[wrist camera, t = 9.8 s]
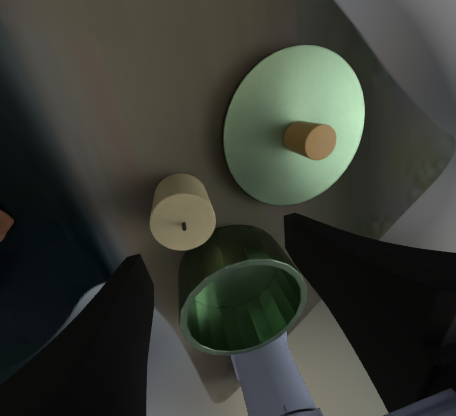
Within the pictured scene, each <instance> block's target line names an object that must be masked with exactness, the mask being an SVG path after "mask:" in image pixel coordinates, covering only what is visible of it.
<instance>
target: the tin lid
mask: <svg viewBox="0 0 456 416" xmlns="http://www.w3.org/2000/svg"><path fill="white" fill-rule="evenodd" d="M364 117H365V107H364V98H363V92H362V89H361V86H360V82H359V80H358V78H357V76H356V74H355V72H354V71H353V69H352V68H351V66H350V65H349V64H348V63H347V62H346V61H345V60H344V59H343V58H342V57H341V56H339V55H338V54H336V53H335V52H333V51H331V50H329V49H327V48H324V47H321V46H317V45H308V44H304V45H294V46H290V47H286V48H283V49H281V50H279V51H276V52H274V53H272V54H270V55H269V56H267V57H265V58H264V59H262V60H261V61H260V62H258V63H257V64H256V65H255V66H254V67H252V69H251V70H250V71H249V72H248V73H247V74H246V75H245V76H244V77H243V79H242V80H241V82H240V83H239V84H238V86H237V88H236V89H235V91H234V93H233V95H232V97H231V99H230V102H229V104H228V107H227V110H226V114H225V118H224V123H223V131H222V143H223V152H224V156H225V160H226V163H227V166H228V169H229V171H230V173H231V174H232V176H233V178H234V179H235V181H236V182H237V183H238V185H239V186H240V187H241V188H242V189H243V190H244V191H245V192H246V193H247V194H249V195H250V196H252V197H253V198H255V199H257V200H259V201H261V202H264V203H267V204H272V205H282V206H283V205H293V204H298V203H301V202H304V201H307V200H309V199H312V198H314V197H316V196H317V195H319V194H321V193H322V192H324V191H325V190H326V189H328V188H329V187H330V186H331V185H332V184H333V183H334V182H335V181H336V180H337V179H338V178H339V177H340V176H341V175H342V174H343V172H344V171H345V170H346V168H347V167H348V165H349V164H350V162H351V160H352V159H353V157H354V154H355V152H356V150H357V148H358V145H359V143H360V139H361V136H362V132H363V126H364Z"/></svg>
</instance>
